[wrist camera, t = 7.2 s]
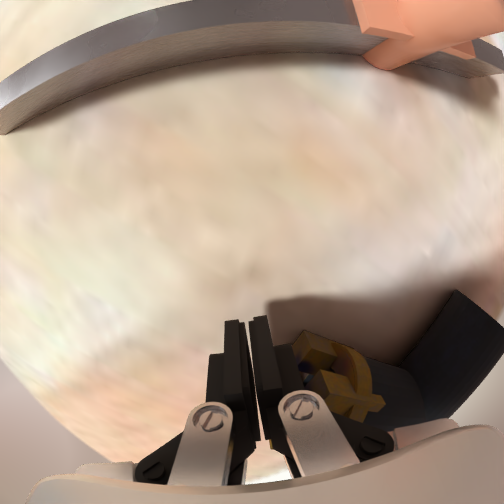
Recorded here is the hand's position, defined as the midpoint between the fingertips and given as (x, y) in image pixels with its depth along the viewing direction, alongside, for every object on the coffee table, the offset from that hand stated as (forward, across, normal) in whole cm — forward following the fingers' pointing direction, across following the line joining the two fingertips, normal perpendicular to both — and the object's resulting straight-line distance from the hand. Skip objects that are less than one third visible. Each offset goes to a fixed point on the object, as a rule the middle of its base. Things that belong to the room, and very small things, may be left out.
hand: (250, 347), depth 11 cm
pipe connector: (+2, -6, +5) cm, 8 cm away
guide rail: (+2, -1, -12) cm, 12 cm away
